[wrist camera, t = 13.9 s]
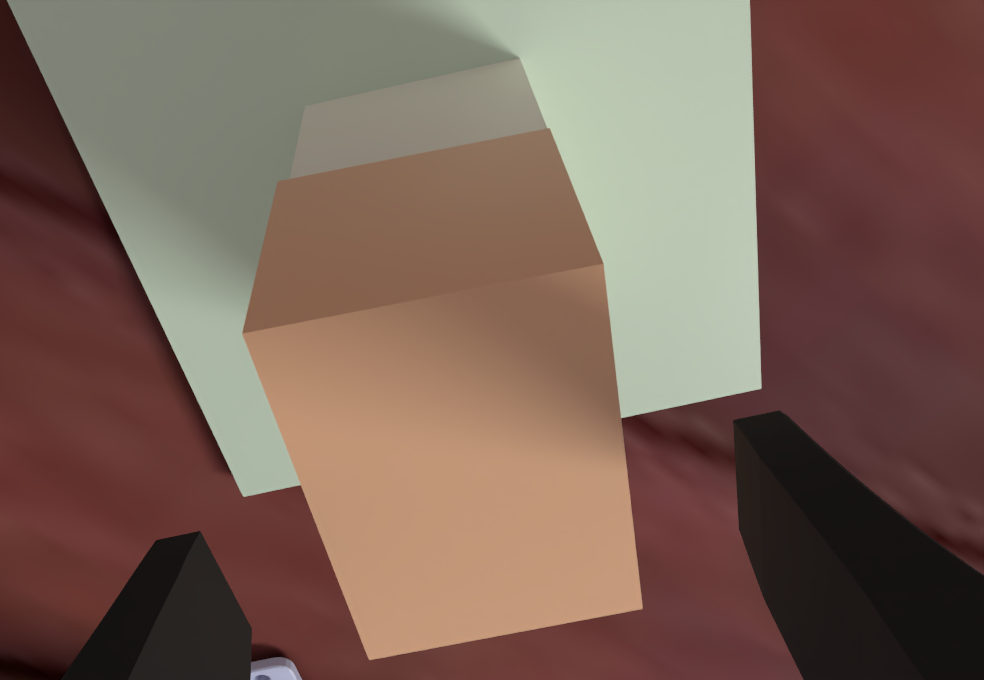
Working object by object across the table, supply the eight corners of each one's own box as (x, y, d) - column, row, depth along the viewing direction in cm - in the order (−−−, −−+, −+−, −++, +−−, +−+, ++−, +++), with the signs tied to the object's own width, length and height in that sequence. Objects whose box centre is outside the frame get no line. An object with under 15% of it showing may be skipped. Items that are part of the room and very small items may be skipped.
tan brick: (372, 472, 19) (369, 659, 15) (277, 181, 15) (241, 333, 11) (591, 430, 19) (642, 608, 15) (549, 127, 15) (603, 263, 11)
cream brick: (385, 358, 23) (385, 484, 19) (304, 105, 19) (284, 200, 15) (565, 318, 23) (601, 438, 19) (519, 58, 19) (552, 142, 15)
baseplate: (245, 481, 25) (243, 496, 25) (-7, -58, 17) (-18, -51, 17) (754, 375, 25) (761, 388, 24) (732, -227, 17) (742, -224, 16)
